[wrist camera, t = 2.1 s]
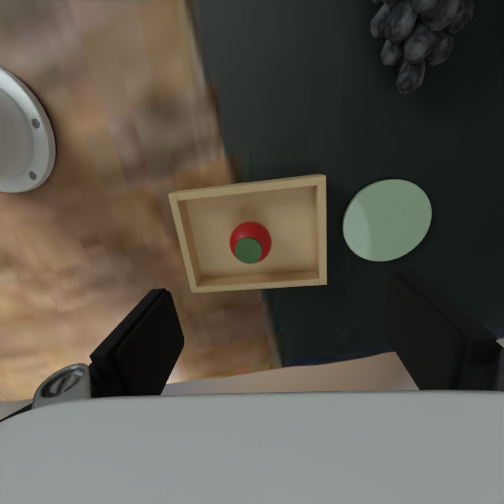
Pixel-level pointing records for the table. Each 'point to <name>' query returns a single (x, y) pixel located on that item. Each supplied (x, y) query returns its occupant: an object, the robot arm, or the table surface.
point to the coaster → (386, 219)
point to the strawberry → (250, 242)
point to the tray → (261, 211)
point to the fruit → (418, 34)
